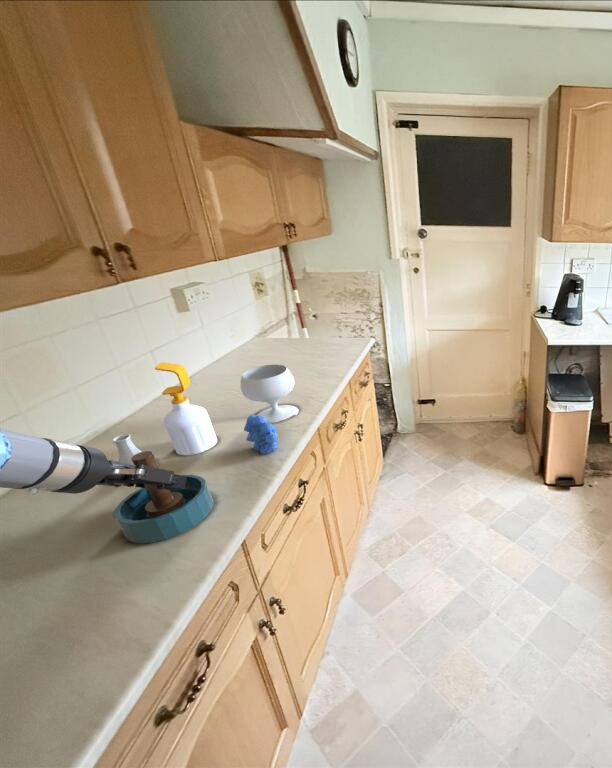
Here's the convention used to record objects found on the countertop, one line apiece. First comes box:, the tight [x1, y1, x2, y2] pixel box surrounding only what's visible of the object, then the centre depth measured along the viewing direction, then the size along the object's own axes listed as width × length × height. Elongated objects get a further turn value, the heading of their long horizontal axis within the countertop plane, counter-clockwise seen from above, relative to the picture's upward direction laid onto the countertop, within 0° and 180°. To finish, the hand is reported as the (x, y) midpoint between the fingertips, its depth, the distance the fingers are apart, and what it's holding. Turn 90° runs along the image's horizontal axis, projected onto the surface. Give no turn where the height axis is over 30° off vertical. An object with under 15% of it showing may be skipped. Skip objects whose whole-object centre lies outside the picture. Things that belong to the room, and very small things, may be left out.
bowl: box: [113, 474, 215, 544], centre depth 83 cm, size 15×15×6 cm
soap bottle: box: [154, 361, 218, 456], centre depth 102 cm, size 9×9×25 cm
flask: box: [112, 433, 142, 465], centre depth 96 cm, size 7×7×10 cm
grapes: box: [243, 414, 278, 455], centre depth 104 cm, size 12×7×12 cm, turn 63°
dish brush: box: [131, 450, 187, 519], centre depth 80 cm, size 6×6×15 cm
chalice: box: [240, 364, 300, 423], centre depth 120 cm, size 14×14×15 cm
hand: (174, 483), depth 84 cm, fingers closed on dish brush, 3 cm apart
